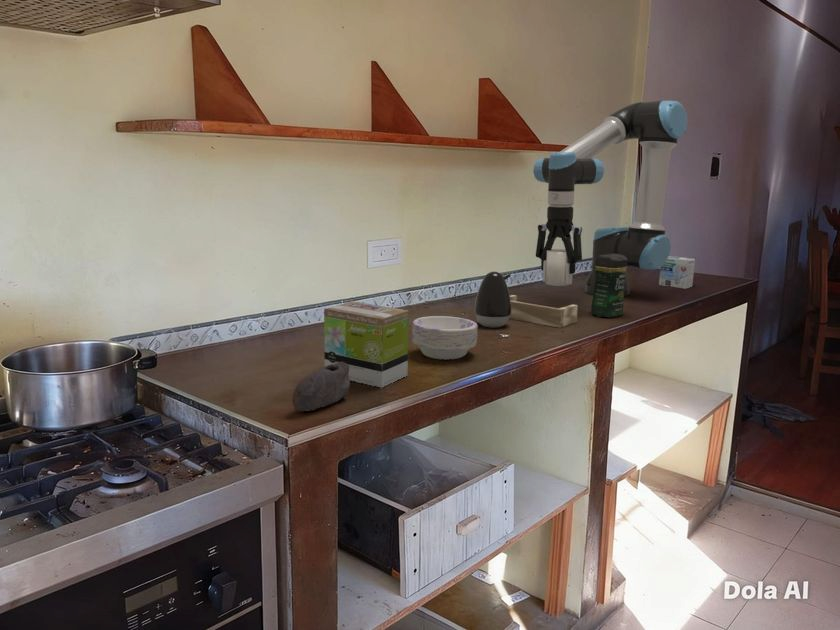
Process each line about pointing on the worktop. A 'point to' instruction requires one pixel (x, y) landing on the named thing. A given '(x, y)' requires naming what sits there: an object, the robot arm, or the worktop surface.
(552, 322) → the rest cradle
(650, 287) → the worktop surface
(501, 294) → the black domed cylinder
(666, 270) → the light bulb box
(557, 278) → the white domed cylinder
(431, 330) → the paper bowls
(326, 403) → the perforated stone tool
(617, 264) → the coffee jar
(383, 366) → the tea box
